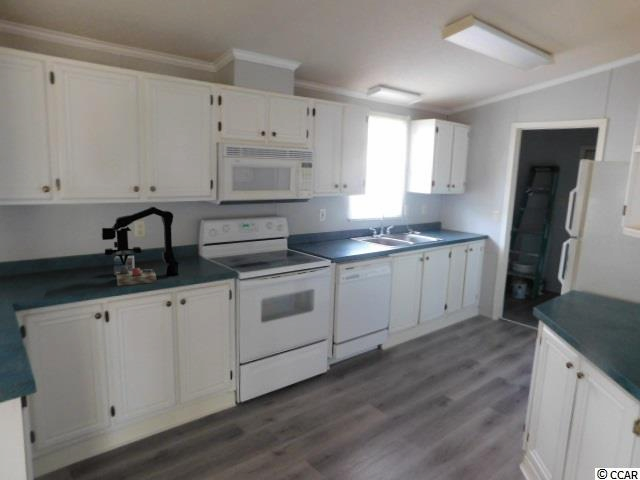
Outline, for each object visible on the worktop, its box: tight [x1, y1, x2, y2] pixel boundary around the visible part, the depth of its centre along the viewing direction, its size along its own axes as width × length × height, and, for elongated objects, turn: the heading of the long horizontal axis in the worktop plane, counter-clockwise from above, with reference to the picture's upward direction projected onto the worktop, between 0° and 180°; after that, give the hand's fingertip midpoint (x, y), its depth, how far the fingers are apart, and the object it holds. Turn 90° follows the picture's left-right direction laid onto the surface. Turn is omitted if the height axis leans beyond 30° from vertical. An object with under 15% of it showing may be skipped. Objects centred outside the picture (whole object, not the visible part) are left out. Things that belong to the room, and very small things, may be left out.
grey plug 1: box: [120, 266, 128, 275], centre depth 235 cm, size 4×4×4 cm
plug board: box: [115, 269, 157, 287], centre depth 235 cm, size 20×16×4 cm
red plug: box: [132, 267, 141, 277], centre depth 231 cm, size 4×4×4 cm
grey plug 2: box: [142, 268, 151, 273], centre depth 241 cm, size 4×4×4 cm
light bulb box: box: [113, 255, 136, 276], centre depth 250 cm, size 11×7×11 cm, turn 105°
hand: (123, 265), depth 235 cm, fingers closed
